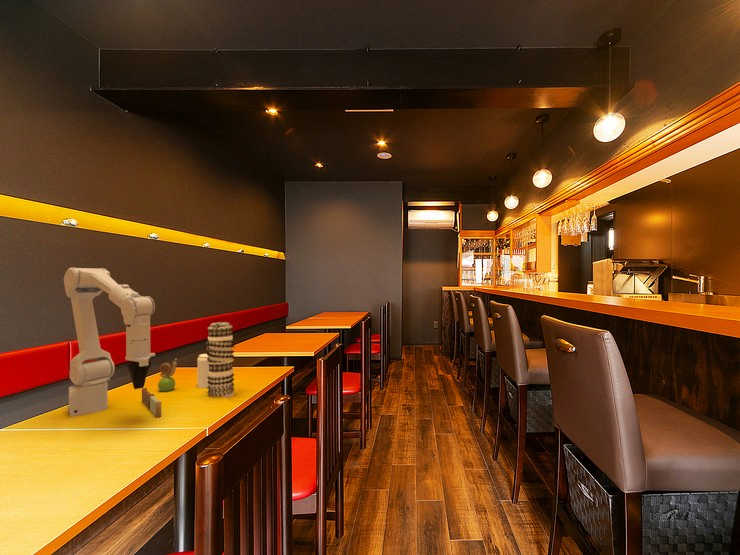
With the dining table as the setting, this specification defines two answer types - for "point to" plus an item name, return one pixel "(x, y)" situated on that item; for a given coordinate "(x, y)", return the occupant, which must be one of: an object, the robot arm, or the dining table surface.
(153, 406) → the fence gate
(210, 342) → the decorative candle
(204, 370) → the beverage can
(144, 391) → the base
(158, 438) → the dining table surface
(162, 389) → the snail figurine
